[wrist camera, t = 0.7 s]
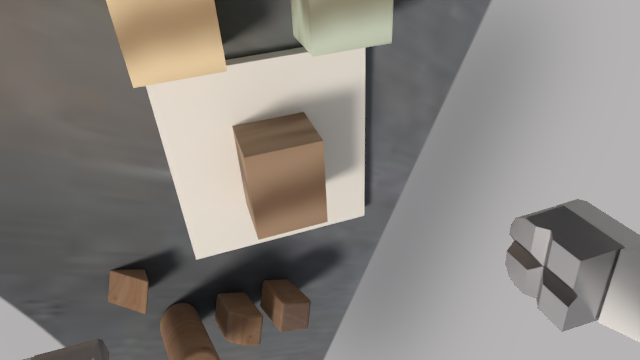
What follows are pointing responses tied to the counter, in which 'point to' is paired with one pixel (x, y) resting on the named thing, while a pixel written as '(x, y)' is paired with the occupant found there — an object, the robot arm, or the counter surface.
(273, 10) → the counter surface
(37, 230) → the counter surface
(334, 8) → the sage brick
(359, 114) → the baseplate
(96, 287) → the counter surface
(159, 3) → the oak brick
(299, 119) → the walnut base brick
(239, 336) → the wooden block set
